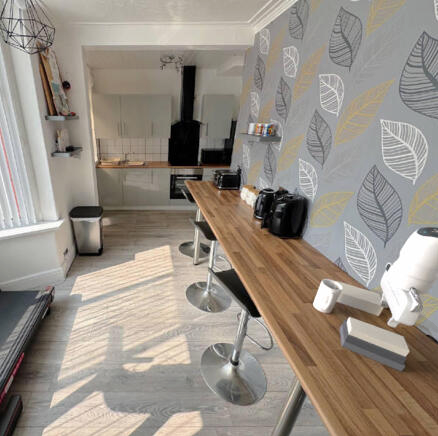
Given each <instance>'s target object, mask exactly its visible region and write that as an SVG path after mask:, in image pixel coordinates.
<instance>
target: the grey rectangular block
mask: <svg viewBox="0 0 438 436" xmlns="http://www.w3.org/2000/svg"><path fill="white" fill-rule="evenodd" d="M347 320H348V319H344V320H343V322H342V323H341V326H340V327H339V335H340V345H341V347H342V348H344V349H346V350H349V351H350V352H353V353H356V354H358V355H360V356H363V357H365V358H367V359H370V360H372V361H375V362H377V363H380V364H381V365H384V366H387V367H389V368H391V369H394V370H396V371H399V372H403V370H404V369H405V367H406V365H405V362H406V361H407V356H406V357H405V356H402V355H400V354H397V353H395V352H392V351H390V350H387V349H385V348H382V347H379V346H377V345H374V344H372V343H369V342H367V341H364V340H362V339H359V338H357V337H354V336H352V335H349V333H348V327H347Z"/></svg>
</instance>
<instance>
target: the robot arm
mask: <svg viewBox="0 0 438 436" xmlns="http://www.w3.org/2000/svg"><path fill="white" fill-rule="evenodd" d="M437 280H438V227H436V226H435V227H434V226H426V227H420V228H417V229H416V230H415V231H414V232H412V233H411V235H409V237H408V238H407V240H405V242H404V244H403V246H402V247H401V249H400V251H399V256H398V258H397V259H395V261H394V262H387V263H386V265H385V271H384V272H383V274H382V276H381V279H380V284H379V285H380V288H381V290H382V295H381V299H382V300H381V302H380V304H381V306H382V307H384V308H385V309H388V308H389V310H390V312H391V317H388V318H387V320H386V323H387V326H389V327H391V328H397V327H398V325H399V324H402V325H405V326H408V327H413V326H415V325H416V323H417V321H418V319H419V318H420V316H421V314H422V312H423V310H424V303H423V301H422V298H421V296H420V295H427V294H429V292H430V291H431V289H432V288H433V286H434V285H435V283H436V282H437Z"/></svg>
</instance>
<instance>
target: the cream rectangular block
mask: <svg viewBox="0 0 438 436" xmlns="http://www.w3.org/2000/svg"><path fill="white" fill-rule="evenodd" d="M346 320H347V327H348V333H349V335H352V336H354V337H357V338H359V339H362V340H364V341H367V342H369V343H372V344H374V345H377V346H379V347H382V348H385V349H387V350H390V351H392V352H395V353H397V354H400V355H402V356H405V357H406V358H407V355H408V354H409V353H410V349H409V346H408V344H407V341H406V339H405V337H404V336H403V335H400V334H398V333H395V332H392V331H390V330H387V329H384V328H382V327H378V326H377V325H373V324H371V323H367V322H365V321H362V320H360V319H357V318H354V317H351V316H348V318H347V319H346Z"/></svg>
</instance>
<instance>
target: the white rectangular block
mask: <svg viewBox="0 0 438 436" xmlns="http://www.w3.org/2000/svg"><path fill="white" fill-rule="evenodd" d="M336 282H338V283H339V284H340V285H341V286H342V287H343V289H342V291H341V294H340V295H339V297H338V299H337V301H336V303H339V304H342V305H344V306H348V307H351V308H354V309H357V310H359V311H363V312H365V313H368V314H371V315H373V316H377V317H379V316H380V315H381V314H382V312H383V310H384V308H385V307H382V306H381V304H380V302H381V300H382V296H381V295H380V293H378V292H374V291H372V290H368V289H365V288H361V287H358V286H355V285H351V284H348V283H346V282H342V281H339V280H336Z"/></svg>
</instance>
